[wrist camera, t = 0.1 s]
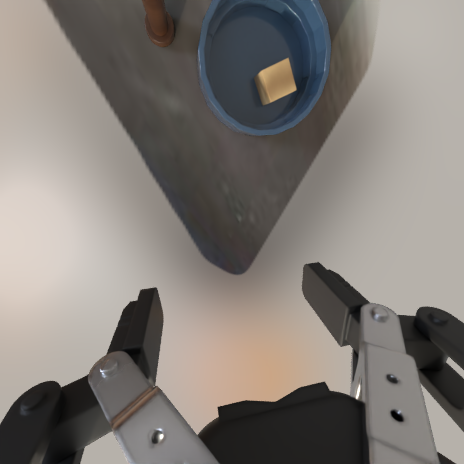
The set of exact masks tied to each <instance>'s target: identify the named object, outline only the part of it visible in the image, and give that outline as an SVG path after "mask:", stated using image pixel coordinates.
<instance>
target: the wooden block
mask: <svg viewBox="0 0 464 464" xmlns="http://www.w3.org/2000/svg"><path fill="white" fill-rule="evenodd" d="M254 80H255V83H256V87H257V90H258V93H259V96H260V99H261V102H262V105H263V106H264V105H266V104H269V103H271V102H273V101H275V100H277V99H279V98H281V97H283V96H285V95H288V94H290V93H292V92H294V91H296V90H297V89H296V85H295V81H294V77H293V74H292V70H291V66H290V62H289V58H286V59H284V60H282V61H280V62H278V63H276V64H274V65H272V66H270V67H268V68H266V69H264V70H262V71H261V72H260V73H258V74H257V75H256V76H255V77H254Z"/></svg>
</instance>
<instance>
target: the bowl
mask: <svg viewBox="0 0 464 464" xmlns="http://www.w3.org/2000/svg"><path fill="white" fill-rule="evenodd" d="M330 55H331V41H330V35H329V28H328V21H327V19H326V17H325V14H324V12H323V10H322V8H321V5H320V3H319V1H318V0H212V2H211V4H210V7H209V9H208V11H207V13H206V15H205V17H204V19H203V22H202V28H201V34H200V40H199V47H198V55H197V68H198V78H199V85H200V88H201V90H202V93H203V96H204V98H205V101H206V103H207V105H208V107H209V108H210V109H211V111H212V112H213V113H214V115H215V116H216V117H217V119H218V120H219V121H220V122H222V123H223V124H224V125H226V126H227V127H229V128H230V129H232V130H233V131H235V132H239V133H242V134H246V135H249V136H258V135H273V134H278V133H281V132H283V131H285V130H287V129H290V128H292V127H294V126H295V125H297V124H298V123H299V122H300V121H301V120H302V119H303V118H304V117H306V116H307V115H308V114H309V113H310V111H311V110H312V108H313V107H314V105H315V104H316V102H317V100H318V99H319V97H320V96H321V94H322V91H323V88H324V85H325V83H326V80H327V77H328V74H329V66H330ZM286 58H289V62H290V66H291V70H292V74H293V77H294V81H295V85H296V89H297V90H296V91H294V92H292V93H290V94H288V95H285V96H283V97H281V98H279V99H277V100H275V101H273V102H271V103H269V104H266V105H264V106H263V105H262V102H261V99H260V96H259V93H258V90H257V87H256V83H255V80H254V77H255V76H256V75H257V74H258V73H260V72H261V71H262V70H264V69H266V68H268V67H270V66H272V65H274V64H276V63H278V62H280V61H282V60H284V59H286Z"/></svg>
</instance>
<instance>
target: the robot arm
mask: <svg viewBox="0 0 464 464" xmlns="http://www.w3.org/2000/svg"><path fill="white" fill-rule="evenodd" d="M302 291H303V294H304V297H305V299H306V300H307V301H308V303H309V304H310V306H311V307H312V308H313V310H314V311H315V312H316V314H317V315H318V316H319V318H320V319H321V320H322V322H323V323H324V325H325V326H326V327H327V329H328V330H329V332H330V333H331V334H332V336H333V337H334V338H335V340H336V341H337V343H338V344H339V345H340V346H341V347H342V346H346V345H350V346H351V347H352V348H353V350H352V359H351V360H352V361H351V390H350V396H349V395H347V394H343V393H340V392H334V391H330V390H329V389H328V386H327V385H326V383H325V382H321V383H317V384H312V385H308V386H304V387H300V388H298V389H296V390H295V391H293V392H291V393H290V394H288V395H286V396H285V397H283V398H282V399H280V400H278V401H276V402H266V401H247V400H246V401H241V402H236V403H232V404H228V405H224V406H220V407H218V414H219V417H218V418H216V419H214V420H213V421H212V422H210V423H209V424H208V425H207V426H205V427H204V428H203V430H201V432H200V433H199V434H198V435H197V434H196V433H195V432H194V431H193V429H192V428H191V427H190V426H189V424H188V423H187V422H186V421H185V419H184V418H183V417H182V415H181V414H180V413H179V412H178V410H177V409H176V408H175V407H174V405H173V404H172V403H171V402H170V400H169V399H168V398H167V397H166V395H165V394H164V393H163V392H162V390H161V389H160V388H159V387H158V386H155V382H156V374H157V366H158V359H159V351H160V344H161V336H162V329H163V310H162V306H161V302H160V298H159V294H158V290H157V288H149V289H142V290H141V291H140V293H139V296H138V300H137V301H132V302H130V303H129V304H128V305H127V306H126V307H125V309H124V310H123V312H122V315H121V318H120V320H119V322H118V327H117V328H116V331H115V333H114V336H113V338H112V341H111V344H110V346H109V349H108V352H107V355H106V356H104V357H102V358H101V359H100V360H99V361H97V362H96V363H95V364H94V366H93V367H92V369H91V370H90V372H89V374H88V375H87V376H85V377H83V378H81V379H79V380H77V381H74V382H72V383H70V384H68V385H66V386H64V387H61V386H60V385H59V383H57V382H55V381H47V382H43V383H40V384H38V385H36V386H34V387H32V388H31V389H29V390H28V391H26V392H25V393H24V394H22V395H21V396H20V397H19V398H18V399H17V400H16V401H15V402H14V404H13V405H12V406H11V408H10V409H9V411H8V412H7V414H6V416H5V417H4V419H3V421H2V422H1V424H0V464H80V462H81V458H82V455H83V451H84V448H85V446H87V445H89V444H90V443H92V442H94V441H96V440H97V439H99V438H101V437H102V436H104V435H106V434H107V433H109V432H111V431H113V433H114V435H115V437H116V439H117V441H118V443H119V445H120V447H121V449H122V451H123V453H124V455H125V457H126V459H127V461H128V463H129V464H455V463H454V462H452V461H451V460H449V459H448V458H446V457H445V456H443V455H442V454H440V453H439V452H437V451H436V446H435V442H434V438H433V434H432V430H431V426H430V421H429V417H428V413H427V409H426V405H425V401H424V396H423V392H422V388H421V384H422V385H423V386H424V387H425V389H426V390H427V391H428V392H429V393H430V394H431V395H432V397H433V398H434V399H435V400H436V401H437V402H438V403H439V404H440V406H441V407H442V408H443V409H444V410H445V411H446V412H447V413H448V415H449V416H450V417H451V418H452V419H453V420H454V421H455V423H456V424H457V425H458V426H459V427H460V428H461V429H462V431H463V432H464V379H463V378H462V377H461V376H460V375H459V374H458V373H457V372H456V371H455V370H454V369H453V368H452V367H451V366H449V365H448V364H447V363H446V361H447V358H448V357H450V358H451V359H452V360H453V361H454V362H456V363H457V364H458V365H459V366H460V367H461V368H462V369H463V370H464V323H463V322H461V321H460V320H458V319H457V318H455V317H454V316H452V315H451V314H449V313H448V312H445V311H443V310H441V309H437V308H434V307H421V308H419V309H418V310H417V313H416V316H406V315H396V313H394V311H392V310H391V309H389V308H388V307H385V306H383V305H380V304H375V303H370V302H369V301H368V300H366V299H365V298H364V297H363V296H362V295H361V294H360V293H359V292H358V291H356V290H355V289H354V288H353V287H352V286H350V284H349V283H348V282H346V281H345V280H344V279H343V278H342V277H341V276H340V275H339V274H337V273H335V272H333V271H331V270H327V269H326V268H325V267H323V266H322V265H321V264H320V263H319V262H317V263H310V264H305V265H304V268H303V281H302ZM420 383H421V384H420ZM153 386H155V387H153Z"/></svg>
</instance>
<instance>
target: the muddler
mask: <svg viewBox="0 0 464 464" xmlns="http://www.w3.org/2000/svg"><path fill="white" fill-rule="evenodd" d="M142 2H143V5H144V8H145V11H146V16H145V28H146V31H147V34H148V36H149V38H150V39H151V41H152V42H153V43H154V44H156V45H158V46H160V47H166V46H168V45H170V44H171V43H172V41H173V39H174V35H175V31H174V23H173V20H172V18H171V16H170V14H169V13H168V12H167V11H166V9H165V3H164V0H142Z"/></svg>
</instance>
